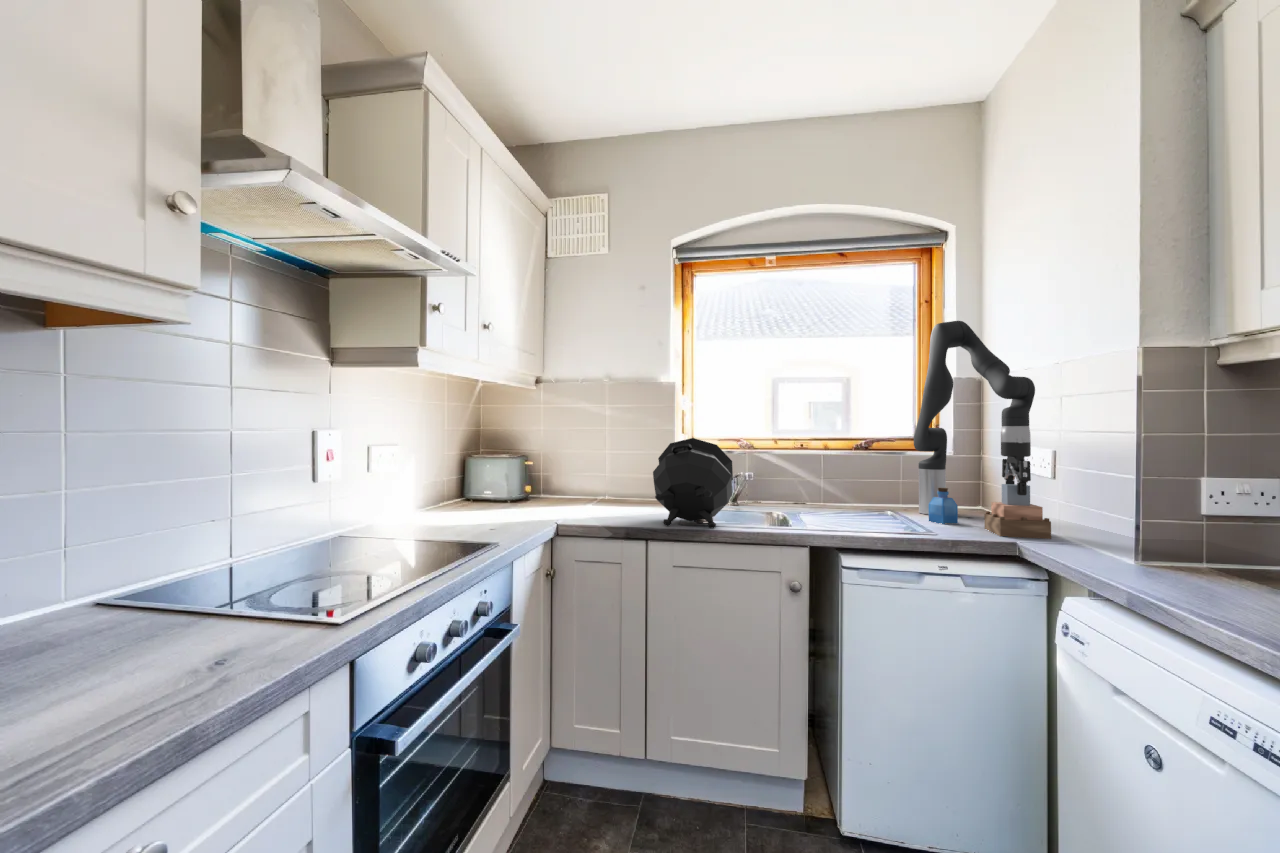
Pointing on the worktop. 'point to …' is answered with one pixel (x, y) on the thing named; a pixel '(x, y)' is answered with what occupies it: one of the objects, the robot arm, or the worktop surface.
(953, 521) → the perfume bottle
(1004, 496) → the grey brick
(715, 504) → the cauldron
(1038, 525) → the brown studded stepped block
